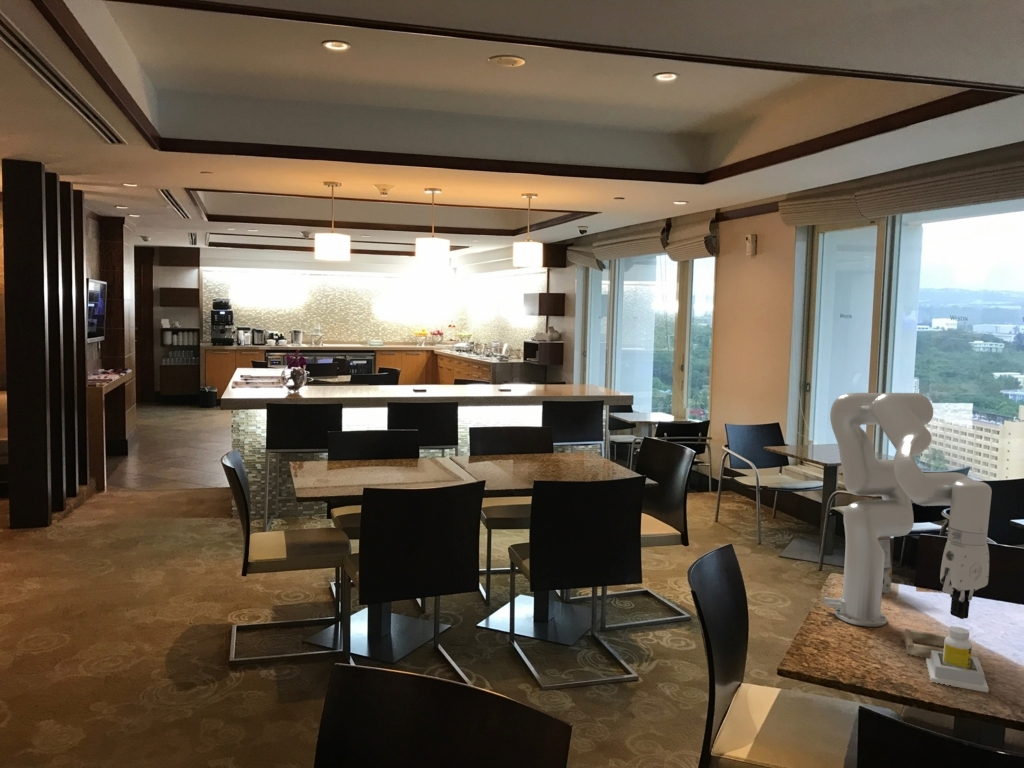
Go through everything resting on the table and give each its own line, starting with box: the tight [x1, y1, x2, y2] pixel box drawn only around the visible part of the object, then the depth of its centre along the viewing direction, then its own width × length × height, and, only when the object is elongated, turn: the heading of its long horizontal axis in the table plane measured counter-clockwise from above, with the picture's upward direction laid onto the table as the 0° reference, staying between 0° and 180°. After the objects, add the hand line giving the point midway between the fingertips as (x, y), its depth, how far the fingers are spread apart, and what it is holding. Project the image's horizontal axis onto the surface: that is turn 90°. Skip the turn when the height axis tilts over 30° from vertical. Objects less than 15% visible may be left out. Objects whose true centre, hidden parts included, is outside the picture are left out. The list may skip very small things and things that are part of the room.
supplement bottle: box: [942, 626, 973, 670], centre depth 179 cm, size 5×5×10 cm
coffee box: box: [878, 537, 895, 594], centre depth 236 cm, size 9×6×16 cm
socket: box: [925, 650, 989, 693], centre depth 179 cm, size 11×11×4 cm
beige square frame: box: [903, 628, 948, 659], centre depth 193 cm, size 10×10×2 cm
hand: (958, 616), depth 179 cm, fingers closed
